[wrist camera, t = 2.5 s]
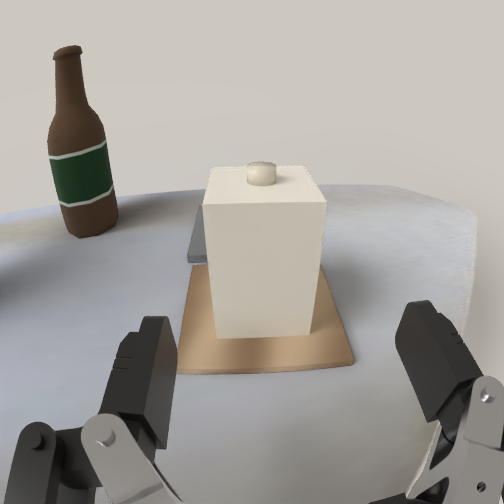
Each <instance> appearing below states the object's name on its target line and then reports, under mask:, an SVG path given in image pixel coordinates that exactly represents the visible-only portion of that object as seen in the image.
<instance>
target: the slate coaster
mask: <svg viewBox="0 0 504 504" xmlns="http://www.w3.org/2000/svg"><path fill="white" fill-rule="evenodd" d="M187 258H188V263H190V262H208V260H207V250H206V240H205V230H204V219H203V208H202V205H200V206H199V210H198V214H197V218H196V222H195V226H194V230H193V234H192V238H191V242H190V246H189V250H188V254H187Z"/></svg>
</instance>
